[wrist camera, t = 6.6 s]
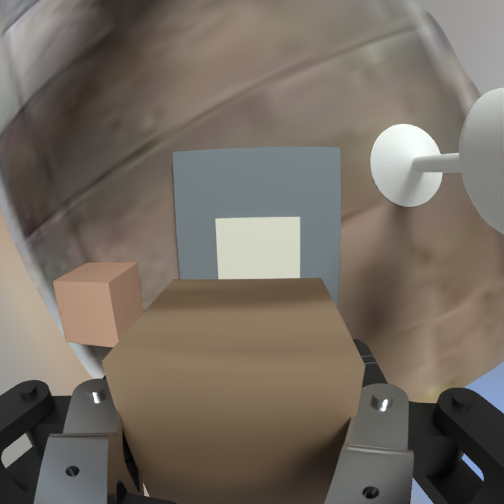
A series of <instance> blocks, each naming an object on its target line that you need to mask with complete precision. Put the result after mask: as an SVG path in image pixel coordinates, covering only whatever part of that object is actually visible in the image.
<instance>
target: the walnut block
mask: <svg viewBox="0 0 504 504" xmlns="http://www.w3.org/2000/svg"><path fill="white" fill-rule="evenodd" d="M102 364H103V368H104V371H105V375H106V379H107V382H108V386H109V389H110V392H111V396H112V399H113V402H114V405H115V408H116V409H117V410H118V411H119V415H120V418H121V421H122V424H123V432H124V435H125V438H126V440H127V443H128V446H129V448H130V451H131V453H132V456H133V459H134V461H135V464H136V465H137V466H138V467H139V469H140V472H141V474H142V478H143V483H144V485H145V487H146V489H147V492H148V494H149V496H150V497H152V498H158V499H163V500H170V501H172V502H175V503H178V504H324V503H325V500H326V497H327V494H328V491H329V488H330V485H331V482H332V479H333V476H334V473H335V470H336V466H337V463H338V460H339V456H340V453H341V449H342V446H343V443H345V439H346V436H347V432H348V428H349V424H350V420H351V417H355V416H356V415H357V410H358V405H359V400H360V394H361V389H362V383H363V377H364V371H365V364H364V362H363V360H362V358H361V356H360V354H359V352H358V350H357V348H356V346H355V344H354V341H353V339H352V337H351V335H350V333H349V331H348V329H347V327H346V325H345V323H344V321H343V319H342V317H341V315H340V313H339V311H338V309H337V307H336V305H335V303H334V301H333V299H332V298H331V296H330V294H329V292H328V290H327V288H326V286H325V284H324V282H323V280H322V278H277V279H174V280H173V281H172V282H171V283H170V284H169V285H168V286H167V287H166V288H165V290H164V291H163V292H162V293H161V294H160V295H159V296H158V297H157V298H156V300H155V301H154V302H153V303H152V304H151V305H150V306H149V307H148V309H147V310H146V311H145V312H144V313H143V314H142V315H141V317H140V318H139V319H138V320H137V321H136V322H135V323H134V324H133V326H132V327H131V328H130V329H129V330H128V331H127V333H126V334H125V335H124V336H123V337H122V338H121V339H120V341H119V342H118V343H117V344H116V345H115V346H114V348H113V349H112V350H111V351H110V352H109V353H108V355H107V356H106V357H105V358H104V359H103V360H102Z"/></svg>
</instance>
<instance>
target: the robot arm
mask: <svg viewBox="0 0 504 504" xmlns="http://www.w3.org/2000/svg"><path fill="white" fill-rule="evenodd" d="M353 341H354V344H355V346H356V348H357V350H358V352H359V354H360V356H361V358H362V360H363V362H364V364H365V371H364V377H363V383H362V389H361V394H360V400H359V405H358V410H357V415H356V416H355V417H351V420H350V424H349V428H348V432H347V436H346V439H345V443H343V446H342V449H341V453H340V456H339V460H338V463H337V466H336V470H335V473H334V476H333V479H332V482H331V485H330V488H329V491H328V494H327V497H326V500H325V503H324V504H410V502H411V491H412V478H414V479H415V480H416V482H417V483H418V484H419V485H420V487H421V488H422V489H423V491H424V492H425V493H426V494H427V495H428V497H429V498H430V499H431V501H432V502H433V503H434V504H504V414H503V413H502V412H501V411H500V410H498V409H497V408H496V407H494V406H493V405H492V404H491V403H489V402H488V401H487V400H486V399H484V398H483V397H481V396H480V395H479V394H478V393H476V392H474V391H473V390H470V389H466V388H450V389H447V390H445V391H443V392H442V393H441V394H440V396H439V398H438V401H437V403H417V402H411V401H409V400H408V396H407V394H406V393H405V392H404V391H403V390H402V389H400V388H398V387H396V386H393V385H390V384H388V383H387V381H386V379H385V377H384V375H383V374H382V372H381V370H380V368H379V366H378V364H377V363H376V361H375V359H374V357H373V356H372V353H371V351H370V350H369V348H368V346H367V345H365V344H364V343H362V342H361V341H360V340H358V339H355V340H353ZM24 433H26V435H27V436H28V438H29V440H30V442H31V444H32V446H33V447H32V448H30V449H29V450H28V451H27V452H25V453H24V454H23V455H22V456H21V457H19V458H18V459H17V460H16V461H15V462H13V463H12V464H11V465H10V466H8V467H7V468H5V467H4V465H3V463H2V460H1V455H2V452H3V450H4V449H5V448H7V447H8V446H9V445H10V444H12V443H13V442H14V441H16V440H17V439H18V438H19V437H21V436H22V435H23V434H24ZM464 453H465V454H466V455H467V456H468V457H469V458H470V459H471V460H472V461H473V462H474V463H475V464H476V465H477V466H478V467H479V468H480V470H481V471H482V473H483V476H484V481H482V480H481V478H480V477H479V476H478V475H477V474H476V473H475V472H474V471H473V470H472V469H471V468H470V467H469V466H468V465H467V464H466V463H465V462H464V461H463V460H462V459H461V458H462V456H463V454H464ZM0 504H178V503H175V502H172V501H170V500H163V499H158V498H152V497H147V496H144V489H143V478H142V474H141V472H140V469H139V467H138V466H137V465H136V464H135V461H134V459H133V456H132V453H131V451H130V448H129V446H128V443H127V440H126V438H125V435H124V432H123V424H122V421H121V418H120V415H119V411H118V410H117V409H116V408H115V405H114V402H113V399H112V396H111V392H110V389H109V386H108V382H107V379H106V375H105V376H104V377H103V379H92V380H88V381H86V382H83V383H81V384H80V385H78V386H77V387H76V388H75V389H74V391H73V394H72V396H52V395H51V392H50V390H49V387H48V385H47V384H46V383H44V382H42V381H38V380H30V381H25V382H22V383H20V384H18V385H16V386H15V387H13V388H11V389H10V390H8V391H7V392H5V393H4V394H2V395H1V396H0Z"/></svg>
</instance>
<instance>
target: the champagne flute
mask: <svg viewBox="0 0 504 504" xmlns="http://www.w3.org/2000/svg"><path fill="white" fill-rule="evenodd" d="M370 165H371V172H372V177H373V179H374V181H375V184H376V186H377V187H378V189H379V190H380V192H381V193H382V194H383V195H384V196H385V197H386V198H387V199H389V200H390V201H391V202H393V203H395V204H397V205H400V206H405V207H414V206H418V205H421V204H423V203H425V202H427V201H428V200H429V199H431V198H432V196H433V195H434V194H435V193H436V191H437V189H438V188H439V186H440V183H441V180H442V173H461V175H462V179H463V182H464V185H465V188H466V191H467V193H468V195H469V197H470V199H471V201H472V203H473V204H474V206H475V208H476V209H477V211H478V212H479V214H480V215H481V217H482V218H483V219H484V220H485V221H486V222H487V223H488V224H489V225H490V226H492V227H493V228H494V229H496V230H498V231H499V232H501V233H502V234H504V88H499V89H495V90H491V91H488V92H487V93H486V94H484V95H483V96H481V97H480V98H479V99H478V100H477V101H476V102H475V103H474V104H473V106H472V107H471V108H470V110H469V112H468V115H467V117H466V119H465V121H464V124H463V127H462V131H461V135H460V143H459V153H452V154H440V152H439V149H438V147H437V145H436V144H435V142H434V140H433V139H432V138H431V137H430V136H429V135H428V134H427V133H426V132H425V131H423V130H422V129H420V128H418V127H416V126H412V125H407V124H400V125H395V126H392V127H389V128H388V129H386V130H385V131H383V132H382V133H381V134H380V136H379V137H378V138H377V140H376V141H375V143H374V146H373V148H372V151H371V158H370Z"/></svg>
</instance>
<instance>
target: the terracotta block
mask: <svg viewBox="0 0 504 504" xmlns="http://www.w3.org/2000/svg"><path fill="white" fill-rule="evenodd" d="M53 284H54V289H55V295H56V300H57V304H58V309H59V314H60V318H61V322H62V326H63V331H64V334H65V338H66V342H72V343H80V344H88V345H96V346H105V347H114V346H115V345H116V344H117V343H118V342H119V341H120V339H121V338H122V337H123V336H124V335H125V334H126V333H127V331H128V330H129V329H130V328H131V327H132V326H133V324H134V323H135V322H136V321H137V320H138V319H139V318H140V317H141V315H142V314H143V313H144V312H143V305H142V298H141V290H140V282H139V274H138V265H137V263H86V264H84V265H82V266H80V267H78V268H76V269H75V270H73V271H71V272H69V273H67V274H65V275H63V276H62V277H60V278H58V279H56V280H54V281H53Z"/></svg>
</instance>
